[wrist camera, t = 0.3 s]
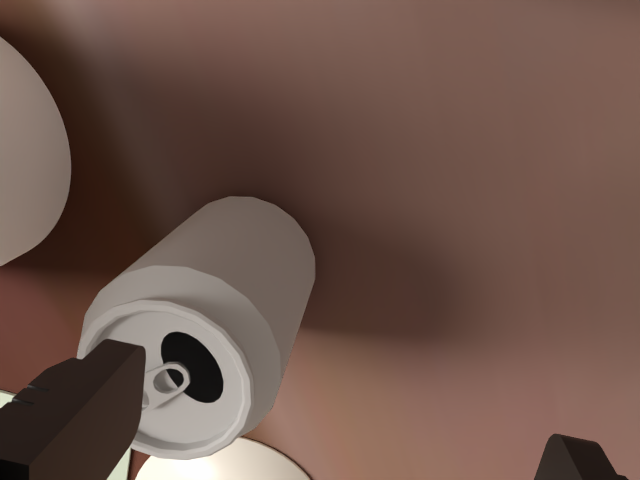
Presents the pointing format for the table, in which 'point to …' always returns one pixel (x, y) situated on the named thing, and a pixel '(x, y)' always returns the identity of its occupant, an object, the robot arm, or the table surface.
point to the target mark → (227, 465)
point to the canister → (29, 157)
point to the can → (209, 323)
